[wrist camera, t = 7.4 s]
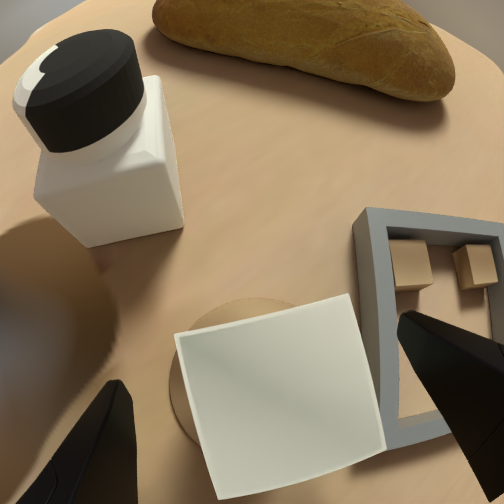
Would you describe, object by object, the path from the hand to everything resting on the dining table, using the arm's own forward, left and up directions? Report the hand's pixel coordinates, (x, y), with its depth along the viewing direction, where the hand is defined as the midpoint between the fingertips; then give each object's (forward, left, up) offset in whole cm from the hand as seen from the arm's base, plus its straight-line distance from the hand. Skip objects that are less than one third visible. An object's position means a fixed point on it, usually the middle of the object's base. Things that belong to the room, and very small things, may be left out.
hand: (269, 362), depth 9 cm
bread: (+33, -5, -9) cm, 35 cm away
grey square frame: (+2, -13, -9) cm, 16 cm away
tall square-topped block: (-1, 0, -8) cm, 8 cm away
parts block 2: (+6, -17, -9) cm, 20 cm away
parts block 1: (+6, -10, -9) cm, 14 cm away
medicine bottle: (+11, +9, -9) cm, 16 cm away
